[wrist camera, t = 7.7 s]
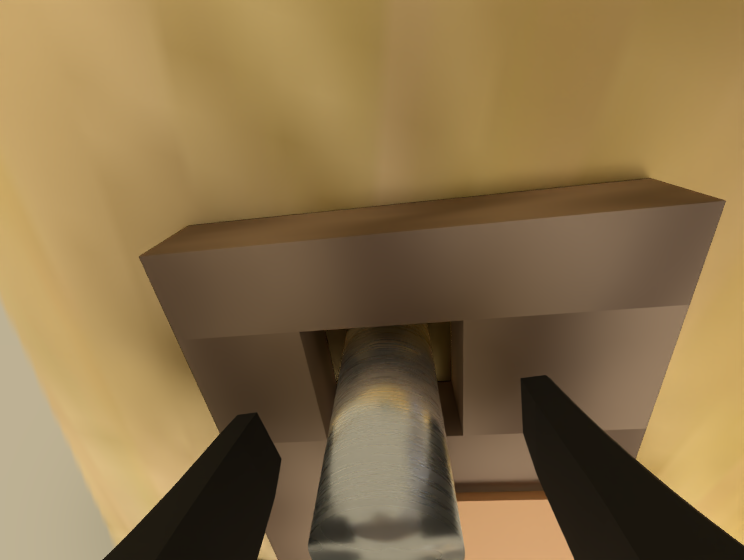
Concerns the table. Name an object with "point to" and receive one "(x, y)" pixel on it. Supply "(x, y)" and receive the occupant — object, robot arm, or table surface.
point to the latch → (510, 526)
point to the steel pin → (386, 455)
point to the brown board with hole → (440, 316)
